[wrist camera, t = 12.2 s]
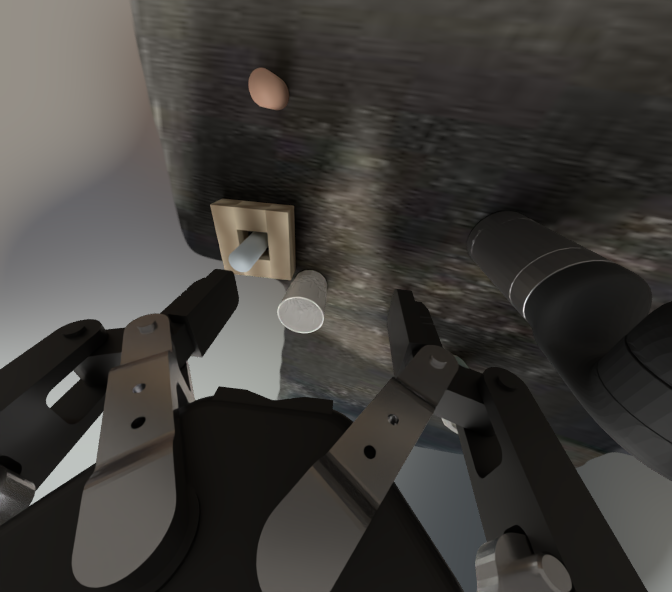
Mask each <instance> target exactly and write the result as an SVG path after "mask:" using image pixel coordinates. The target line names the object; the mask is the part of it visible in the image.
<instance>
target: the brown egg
mask: <svg viewBox="0 0 672 592" xmlns="http://www.w3.org/2000/svg"><path fill="white" fill-rule="evenodd" d="M249 91H250V94H251V96H252V98H253V100H254V101H255V102H256V103H257V104H258V105H260V106H262V107H265V108H269V109H273V110H282V109H284V108H285V107H286V105H287V103H288V100H289V91H288V88H287V85H286V84H285V82H284V81H283V80H282V79H281V78H279V77H278V76H276V75H275V74H273V73H272V72H270V71H269V70H267V69H265V68H257V69H255V70H254V71H253V72H252V73H251V75H250V78H249Z"/></svg>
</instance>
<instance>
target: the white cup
mask: <svg viewBox="0 0 672 592" xmlns="http://www.w3.org/2000/svg"><path fill="white" fill-rule="evenodd" d="M326 292H327V282H326V280H325V278H324V277H323V276H322V275H321V274H320V273H319V272H316V271H313V270H304V271H302V272H300V273H298V274H297V276H296V277H295V279H294V281H293V282H292V283H291V285H290V287H289V288H288V290H287V292H286V294H285V295H284V297H283V299H282V301H281V303H280V305H279V306H278V310H277V314H278V318H279V320H280V321H281V322H282V324H283V325H284V326H285V327H287V328H288V329H290V330H292V331H295V332H299V333H310V332H313V331H315V330H317V329H319V328H320V327H321V325H322V324H323V321H324V314H325V307H326V297H327V293H326Z"/></svg>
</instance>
